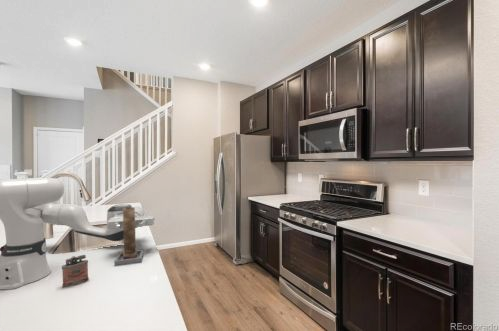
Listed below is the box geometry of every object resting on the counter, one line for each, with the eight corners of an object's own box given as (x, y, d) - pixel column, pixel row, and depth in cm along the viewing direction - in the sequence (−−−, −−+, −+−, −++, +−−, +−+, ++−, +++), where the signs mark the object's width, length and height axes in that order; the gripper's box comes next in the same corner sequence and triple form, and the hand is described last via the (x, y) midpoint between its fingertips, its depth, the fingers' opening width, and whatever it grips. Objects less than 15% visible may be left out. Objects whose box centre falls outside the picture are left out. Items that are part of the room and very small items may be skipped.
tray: (114, 266, 107) (114, 261, 107) (119, 256, 117) (119, 252, 117) (141, 262, 110) (141, 258, 110) (143, 253, 120) (143, 249, 120)
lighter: (62, 288, 89) (61, 261, 88) (61, 285, 91) (60, 258, 91) (89, 281, 94) (88, 254, 94) (87, 278, 97) (87, 252, 96)
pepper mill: (122, 261, 110) (120, 206, 110) (124, 256, 116) (122, 203, 115) (136, 259, 112) (134, 205, 111) (137, 255, 117) (136, 203, 117)
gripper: (155, 223, 130) (153, 230, 117) (111, 227, 124) (104, 235, 111) (155, 211, 130) (153, 217, 117) (111, 214, 124) (104, 221, 111)
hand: (129, 226), depth 114 cm, fingers open, 8 cm apart
